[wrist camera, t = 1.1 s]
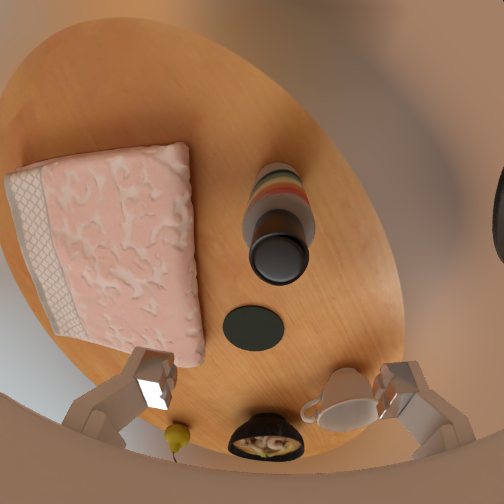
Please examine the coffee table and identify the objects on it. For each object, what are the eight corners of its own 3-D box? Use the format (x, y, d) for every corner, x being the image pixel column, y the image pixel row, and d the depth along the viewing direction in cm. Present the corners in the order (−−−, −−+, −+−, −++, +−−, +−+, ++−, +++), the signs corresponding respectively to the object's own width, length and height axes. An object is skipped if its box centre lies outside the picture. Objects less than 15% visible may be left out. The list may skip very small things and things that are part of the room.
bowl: (282, 439, 65) (280, 470, 56) (222, 424, 63) (216, 457, 54) (317, 413, 58) (319, 449, 49) (250, 395, 55) (245, 435, 47)
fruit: (164, 423, 66) (153, 458, 56) (173, 416, 63) (162, 454, 53) (186, 432, 68) (177, 467, 57) (196, 426, 65) (188, 463, 54)
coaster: (222, 302, 44) (222, 304, 44) (287, 307, 44) (287, 309, 43) (223, 346, 49) (223, 348, 48) (280, 351, 48) (280, 353, 48)
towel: (19, 162, 35) (-4, 170, 30) (196, 140, 33) (182, 145, 28) (63, 324, 52) (50, 340, 47) (209, 350, 50) (203, 374, 44)
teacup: (297, 362, 49) (299, 406, 40) (376, 351, 47) (389, 394, 38) (300, 397, 55) (301, 436, 46) (368, 388, 53) (377, 426, 44)
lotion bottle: (300, 205, 36) (322, 299, 18) (256, 205, 37) (236, 300, 19) (300, 161, 34) (328, 218, 16) (254, 162, 34) (228, 219, 16)
